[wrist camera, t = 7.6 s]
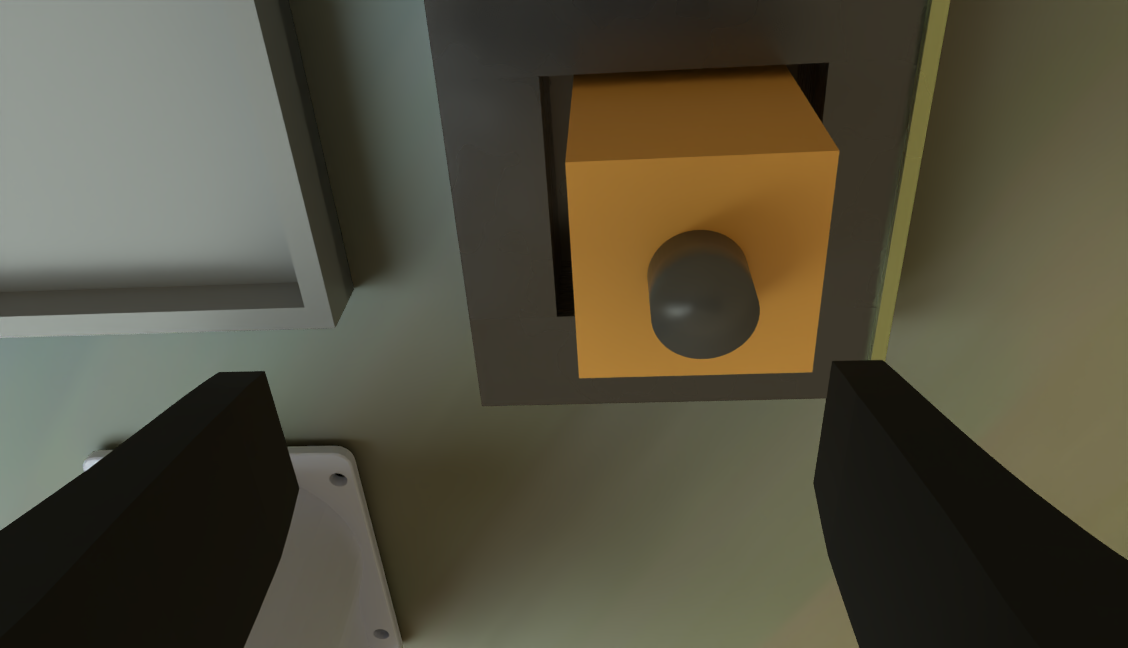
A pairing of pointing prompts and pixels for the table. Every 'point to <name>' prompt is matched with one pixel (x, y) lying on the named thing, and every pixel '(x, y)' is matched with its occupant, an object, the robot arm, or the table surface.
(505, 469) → the table surface
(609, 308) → the plug
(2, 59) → the tray
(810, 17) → the open box
